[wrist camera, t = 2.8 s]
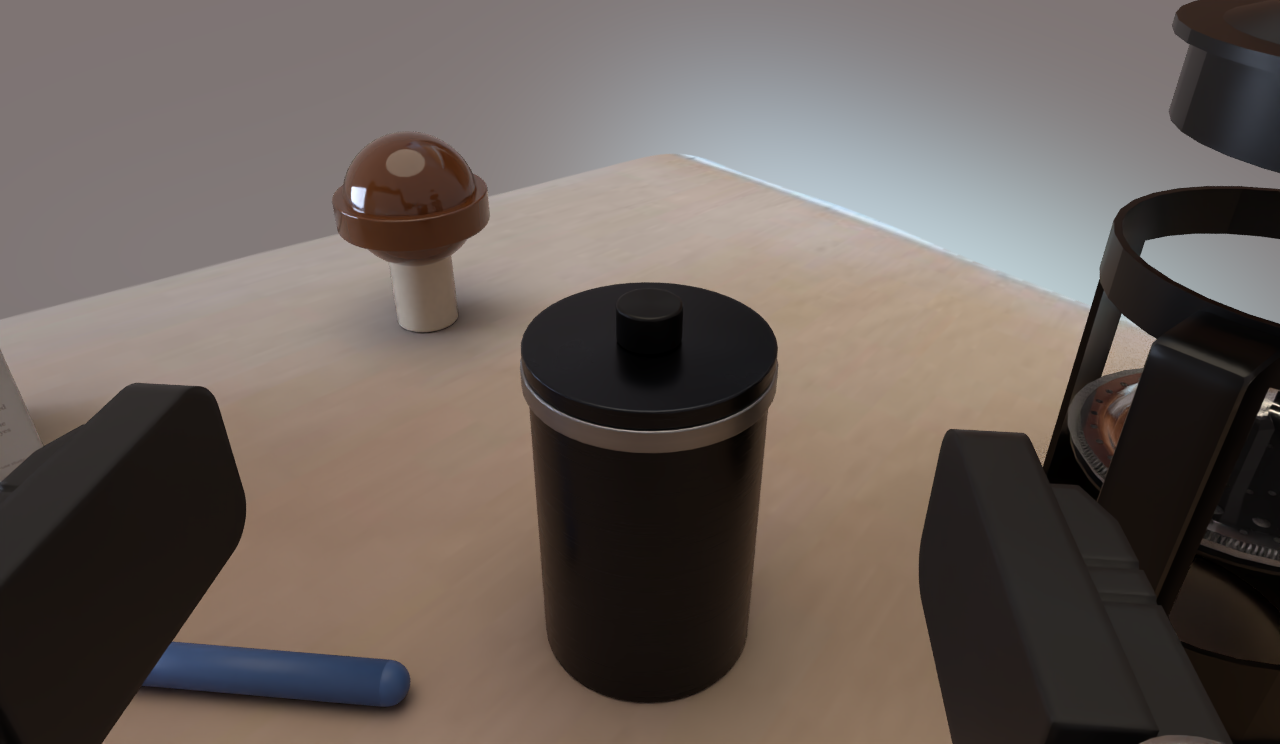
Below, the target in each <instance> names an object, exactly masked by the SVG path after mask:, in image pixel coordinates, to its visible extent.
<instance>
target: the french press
mask: <svg viewBox="0 0 1280 744" xmlns="http://www.w3.org/2000/svg"><path fill="white" fill-rule="evenodd" d="M1172 27H1173V30H1174V32H1175V34H1176V35H1177V36H1179V37H1180V38H1181V39H1183V40H1184V41H1185V42H1187V43H1188V44H1190V45H1189V48H1188V52H1187V55H1186V58H1185V61H1184V64H1183V67H1182V71H1181V74H1180V77H1179V80H1178V83H1177V87H1176V90H1175V93H1174V96H1173V99H1172V103H1171V106H1170V109H1169V114H1170V118H1171V121H1172V122H1173V123H1174V124H1175V125H1176V126H1177V127H1178V128H1179V129H1180V131H1181V132H1183V133H1185V134H1186V135H1188V136H1189V137H1191V138H1193V139H1194V140H1196V141H1197V142H1199V143H1201V144H1203V145H1205V146H1207V147H1210V148H1212V149H1214V150H1216V151H1218V152H1221V153H1223V154H1225V155H1227V156H1230V157H1233V158H1235V159H1238V160H1241V161H1244V162H1247V163H1250V164H1252V165H1256V166H1258V167H1261V168H1264V169H1268V170H1271V171H1275V172H1278V173H1280V0H1198V1H1194V2H1191V3H1188V4H1186V5H1183V6H1182V7H1180V9H1179V10H1178V11H1177V12H1176V14H1175V17H1174V21H1173V24H1172ZM1195 233H1196V234H1198V233H1199V234H1200V233H1201V234H1205V233H1207V234H1208V233H1209V234H1237V235H1251V236H1262V237H1269V238H1276V239H1280V189H1271V188H1257V187H1256V188H1254V187H1242V186H1204V187H1190V188H1178V189H1172V190H1167V191H1161V192H1156V193H1152V194H1149V195H1146V196H1143V197H1140V198H1138V199H1135V200H1133V201H1131V202H1130V203H1129V204H1127V205H1126V206H1124V207H1123V208H1121V209H1120V211H1119V212H1118V214H1117V216H1116V217H1115V219H1114V221H1113V225H1112V228H1111V232H1110V235H1109V238H1108V242H1107V245H1106V249H1105V251H1104V255H1103V258H1102V261H1101V265H1100V279H1099V283H1098V286H1097V289H1096V292H1095V296H1094V300H1093V302H1092V306H1091V309H1090V312H1089V316H1088V319H1087V322H1086V326H1085V329H1084V332H1083V336H1082V339H1081V342H1080V346H1079V349H1078V352H1077V355H1076V359H1075V362H1074V365H1073V369H1072V372H1071V375H1070V379H1069V382H1068V385H1067V389H1066V392H1065V395H1064V399H1063V402H1062V405H1061V409H1060V412H1059V415H1058V419H1057V422H1056V425H1055V428H1054V432H1053V435H1052V438H1051V442H1050V445H1049V448H1048V452H1047V455H1046V458H1045V462H1044V465H1043V469H1044V472H1045V474H1046V476H1047V478H1048V481H1049V483H1050V484H1067V485H1079V486H1080V487H1081V488H1082V489H1083V490H1084V491H1086V492H1087V493H1088V494H1089V495H1090V496H1091V497H1092V498H1093V499H1094V500H1095V501H1097V502H1098V503H1099V504H1100V505H1101V506H1102V507H1103V508H1104V509H1105V510H1106V511H1108V512H1109V513H1110V514H1111V515H1112V516H1113V517H1114V518H1115V519H1116V520H1117V521H1118V522H1119V524H1120V526H1121V528H1122V530H1123V532H1124V534H1125V536H1126V537H1127V539H1128V541H1129V543H1130V545H1131V547H1132V549H1133V551H1134V553H1135V555H1136V557H1137V559H1138V561H1139V570H1144V572H1145V574H1146V576H1147V578H1148V580H1149V582H1150V584H1151V586H1152V588H1153V590H1154V592H1155V594H1156V596H1157V598H1156V602H1157V605H1162V607H1163V609H1164V611H1165V613H1166V615H1167V617H1168V615H1169V613H1170V611H1171V608H1172V606H1173V604H1174V602H1175V599H1176V597H1177V595H1178V593H1179V590H1180V588H1181V586H1182V584H1183V581H1184V579H1185V577H1186V575H1187V572H1188V570H1189V568H1190V566H1191V563H1192V561H1193V559H1194V557H1195V554H1197V555H1199V556H1201V557H1204V558H1206V559H1208V560H1210V561H1212V562H1214V563H1216V564H1218V565H1220V566H1222V567H1224V568H1225V569H1227V570H1229V571H1230V572H1232V573H1234V574H1235V575H1237V576H1239V577H1240V578H1242V579H1243V580H1244V581H1246V582H1247V583H1248V584H1250V585H1251V586H1252V587H1254V588H1255V589H1256V590H1258V591H1259V592H1260V593H1262V594H1263V595H1264V596H1265V597H1266V598H1267V599H1268V600H1269V601H1270V602H1271V603H1272V604H1273V605H1274V606H1275V607H1276V608H1277V609H1278V610H1279V611H1280V324H1279V323H1275V322H1272V321H1269V320H1266V319H1263V318H1259V317H1256V316H1253V315H1250V314H1247V313H1244V312H1242V311H1239V310H1237V309H1234V308H1232V307H1229V306H1227V305H1224V304H1222V303H1219V302H1216V301H1214V300H1211V299H1209V298H1207V297H1205V296H1203V295H1200V294H1199V293H1196V292H1194V291H1192V290H1190V289H1189V288H1186V287H1185V286H1183V285H1181V284H1179V283H1177V282H1174V281H1173V280H1171V279H1170V278H1168V277H1167V276H1165V275H1163V274H1162V273H1161V272H1159V271H1158V270H1156V269H1155V268H1153V267H1151V266H1150V265H1148V264H1147V263H1146V262H1145V261H1144V260H1143V259H1142V258H1141V257H1140V254H1141V252H1142V248H1143V245H1144V242H1145V240H1150V239H1155V238H1160V237H1165V236H1170V235H1171V236H1172V235H1184V234H1195ZM1121 314H1123V315H1124V316H1126V317H1127V318H1128V319H1129V320H1131V321H1132V322H1133V323H1135V324H1136V325H1137V326H1139V327H1140V328H1141V329H1143V330H1144V331H1145V332H1147V333H1148V334H1149V335H1151V336H1153V337H1155V338H1156V339H1157V340H1156V341H1154V342H1153V344H1152V346H1151V349H1150V351H1149V354H1148V357H1147V360H1146V362H1145V365H1144V368H1141V369H1132V370H1124V371H1120V372H1117V373H1113V374H1109V375H1105V376H1103V377H1101V376H1102V372H1103V369H1104V366H1105V363H1106V360H1107V357H1108V354H1109V351H1110V348H1111V345H1112V341H1113V338H1114V335H1115V332H1116V329H1117V326H1118V323H1119V320H1120V317H1121ZM1180 642H1181V644H1182V646H1183V648H1184V650H1185V652H1186V654H1187V656H1188V658H1189V660H1190V661H1191V663H1192V665H1193V667H1194V669H1195V671H1196V673H1197V675H1198V677H1199V679H1200V681H1201V683H1202V685H1203V687H1204V689H1205V691H1206V692H1207V694H1208V696H1209V698H1210V700H1211V702H1212V704H1213V706H1214V708H1215V710H1216V712H1217V714H1218V716H1219V718H1220V720H1221V722H1222V723H1223V725H1224V727H1225V729H1226V731H1227V733H1228V735H1229V737H1230V739H1231V741H1232V743H1233V744H1280V665H1275V664H1269V663H1262V662H1255V661H1249V660H1242V659H1236V658H1233V657H1229V656H1226V655H1222V654H1218V653H1215V652H1211V651H1207V650H1204V649H1200V648H1197V647H1195V646H1192V645H1190V644H1187V643H1185V642H1182V641H1180Z"/></svg>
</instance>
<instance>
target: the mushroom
mask: <svg viewBox="0 0 1280 744" xmlns="http://www.w3.org/2000/svg"><path fill="white" fill-rule="evenodd" d="M332 203H333V209H334V214H335V219H336V224H337V229H338V233H339V234H340V236H341V237H342V238H343V239H344V240H346V241H347V242H349V243H351V244H353V245H355V246H358V247H361V248H365V249H368V250H369V251H370V252H371V253H373V254H374V255H376V256H377V257H379V258H381V259H383V260H385V261H387V262H388V263H389V269H390V275H391V281H392V288H393V294H394V300H395V306H396V313H397V319H398V323H399V324H400V326H401V327H403V328H404V329H406V330H409V331H414V332H432V331H437V330H441V329H444V328H446V327H448V326H450V325H452V324H453V323H454V322H455V321H456V320H457V318H458V308H457V300H456V291H455V283H454V274H453V266H452V258H451V255H452V254H454V253H455V252H456V251H457V250H458V249H460V248H461V247H462V245H463V244H464V243H465V242H466V241H467V239H468V238H470V237H472V236H474V235H476V234H477V233H479V232H480V231H481V230H482V229H483V228H484V227H485V226H486V225H487V223H488V221H489V218H490V211H489V200H488V190H487V185H486V183H485V182H484V181H483V180H482V179H481V178H480V177H478V176H477V175H475V174H473V173H472V171H471V169H470V167H469V166H468V164H467V163H466V161H465V160H464V159H463V157H462V156H461V155H460V154H459V153H458V152H457V151H456V150H455V149H454V148H452V147H451V146H450V145H448V144H447V143H445V142H444V141H442V140H440V139H438V138H436V137H433V136H431V135H428V134H424V133H420V132H409V131H405V132H396V133H391V134H388V135H385V136H382V137H380V138H378V139H376V140H374V141H372V142H371V143H369V144H368V145H367V146H365V147H364V148H363V149H362V150H361V151H360V152H359V153H358V154H357V155H356V157H355V158H354V160H353V161H352V163H351V164H350V166H349V168H348V170H347V173H346V176H345V179H344V184H343V185H342V186H341V187H340V188H339V189H337V191H336V192H335V193H334V195H333V198H332Z"/></svg>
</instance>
